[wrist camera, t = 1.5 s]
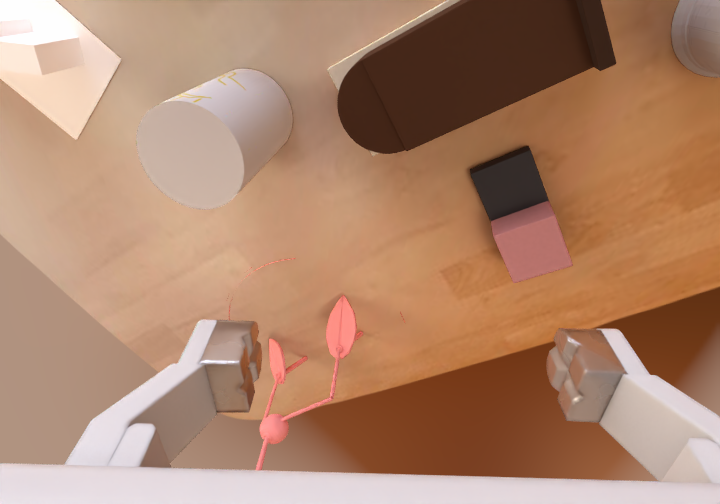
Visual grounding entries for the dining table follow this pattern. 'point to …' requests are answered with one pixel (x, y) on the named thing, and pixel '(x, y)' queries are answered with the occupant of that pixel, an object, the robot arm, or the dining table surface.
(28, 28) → the napkin holder
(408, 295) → the dining table surface
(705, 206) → the dining table surface
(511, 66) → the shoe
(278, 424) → the figurine
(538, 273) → the two-tone stepped block
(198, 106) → the cup
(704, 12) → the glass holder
